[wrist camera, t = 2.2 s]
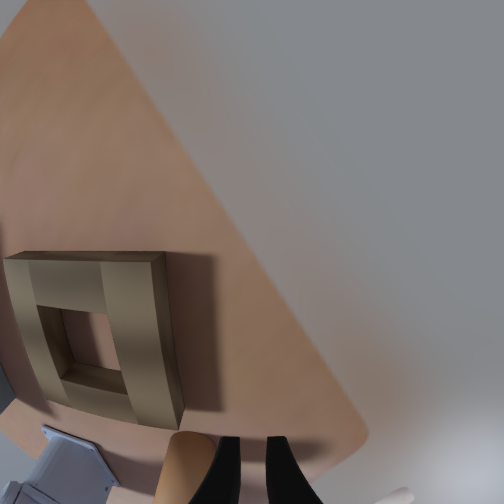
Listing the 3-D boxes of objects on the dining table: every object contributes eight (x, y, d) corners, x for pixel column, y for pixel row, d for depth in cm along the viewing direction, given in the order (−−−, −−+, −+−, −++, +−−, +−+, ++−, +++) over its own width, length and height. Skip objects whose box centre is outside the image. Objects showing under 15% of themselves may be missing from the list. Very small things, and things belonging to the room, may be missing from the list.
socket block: (184, 407, 18) (178, 430, 16) (59, 383, 18) (46, 399, 16) (164, 251, 16) (150, 262, 13) (24, 251, 15) (2, 258, 13)
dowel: (217, 458, 20) (210, 530, 12) (174, 454, 20) (158, 522, 12) (213, 433, 19) (203, 513, 11) (166, 428, 19) (143, 504, 11)
